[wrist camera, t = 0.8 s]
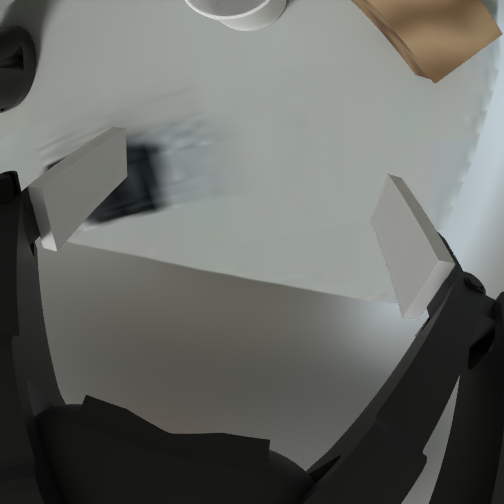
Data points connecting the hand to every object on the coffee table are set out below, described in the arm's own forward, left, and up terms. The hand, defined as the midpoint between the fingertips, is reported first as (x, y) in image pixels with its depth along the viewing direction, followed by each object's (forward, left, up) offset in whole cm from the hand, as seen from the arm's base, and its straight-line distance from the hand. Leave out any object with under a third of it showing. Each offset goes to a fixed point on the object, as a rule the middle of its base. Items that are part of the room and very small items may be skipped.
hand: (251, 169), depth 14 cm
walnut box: (+3, +21, -24) cm, 32 cm away
